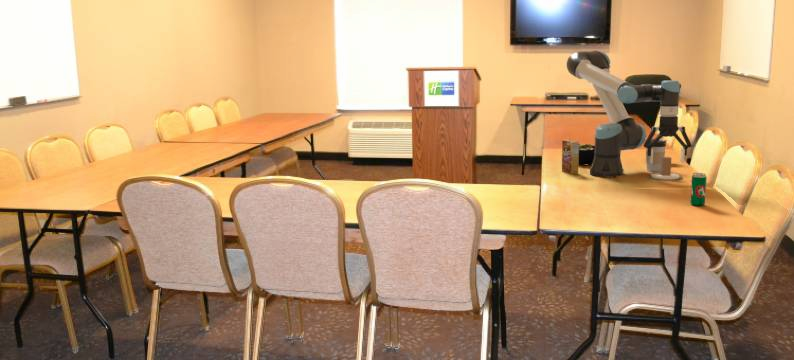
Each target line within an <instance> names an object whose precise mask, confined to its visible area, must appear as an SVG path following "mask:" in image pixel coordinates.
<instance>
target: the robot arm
mask: <svg viewBox="0 0 794 360" xmlns="http://www.w3.org/2000/svg"><path fill="white" fill-rule="evenodd" d="M610 64H611V59H610V57H609V56H608V54H606V53H605V52H604V51H599V50H592V51H589V50H587V51H575V52H573V53H572V54H571V55H570V56H569V57H568V58H567V60H566V69H567V71H568V73H569V74H570V75H571V76H573V77H575V78H577V79H579V80H585V81H587V82H588V83H589V84H590V83H591V84H592V86H593V88H594V90H595V92H596V95H597V97H598V99H599V100H600V103H601V105H602V107H603V108H604V111H605V113H606V115H607V117H608V119H609V121H610V123H602V124H599V125H597V126H596V128H595V134H594V146H595V153H594V160H593V163H592V164H591V167H590V168H589V174H590V175H591V176H594V177H600V178H601V177H602V178H617V177H619V176H624V173H625V171H624V167H623V164H622V159H621V151H628V150H629V151H631V150H635V149H638V148H641V147H642V146H643V147H644V148H645V149H646V148H647V149H648V152H647V155H648V156H650V158H649V163H651V164H653V149H652V147H653V146H654V145H655V144H656V143H657V142H658V141H659V140H660V139H662V138H663V137H664V138H667V137H671V138H672V137H674V138H675V140H676V141H677V142H678V143H679V145H680V146H681V149H680V163H681V164H685V157H686V156H688V149H689V148H692V147H693V145H692V143H691V140H690V139H689V137H688V135H687V132H686V127H685V126H683V125H681V126H678V123H679V117H678V115H679V103H680V91H681V90H680V82H679V80H662V81H661V83H660V84H650V83H644V84H640V85H639V84H638V85H635V84H632V83H630V82H628V81H625V80H624V79H622V78H620V77H617V76H615V75H614V74H612V73H610V72H611V70H610V68H611V65H610ZM644 102H645V103H647V102H659V103H660V108H659V115H660V116H659V124H658V125H659V126H657V127H656V126H651V130H650V132H649V134H648V136H647V131H646V128H645V127H644V125H642V124H639V123H637V122H636V120H635V118H634V117H633V116H629V114H628V112H627V110H626V108H625V106H624V104H633V103H634V104H635V103H644ZM678 131H679V132H680V133H681V135H682V137H683V139H682V138H681V137H680V136H679V134H678ZM656 132H659V133H657V136H656V137H655V138H654V135H656ZM645 139H647V140H646V141H645ZM652 139H654V140H653V141H652V142H651V143H650V141H651V140H652ZM683 140H684V141H685V142H684V141H683ZM649 143H650V144H649Z"/></svg>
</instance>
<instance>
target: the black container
mask: <svg viewBox="0 0 794 360" xmlns="http://www.w3.org/2000/svg"><path fill="white" fill-rule="evenodd" d="M594 153H595V145H591V144H590V143H581V144H580V143H579V164H578V165H583V166H584V165H585V166H586V165H592V163H593V160H594Z"/></svg>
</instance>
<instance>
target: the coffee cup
mask: <svg viewBox="0 0 794 360" xmlns="http://www.w3.org/2000/svg"><path fill="white" fill-rule="evenodd" d="M652 139H653V140H654V139H655V138H652ZM653 140H651V141H650V143H651V142H652V141H653ZM650 143H649V144H650ZM666 144H667V142H666V143H664V141H660V140H659V141H658V142H657V143H656V144H655V145H654V146H653V147H652V149H653V164H651V163H649V158H650V156H648V155H647V152H648V149H647V148H645V163H646V165H645V166H646V167H645V168H646V171H648V172H652V173H656V172H660V168H661V157H666V156H665V155H666V146H667V145H666Z"/></svg>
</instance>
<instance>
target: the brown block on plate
mask: <svg viewBox="0 0 794 360" xmlns="http://www.w3.org/2000/svg"><path fill="white" fill-rule="evenodd" d="M671 171H672V157H670V156H665V157H661V168H660V172H652V173H651V174H650V175H651V177H652V178H654V179H660V180H659V181H662V180H677V179H679V177H681V176H680V174H678V173H674V172H671ZM654 179H653V180H654ZM677 181H678V180H677Z"/></svg>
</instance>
